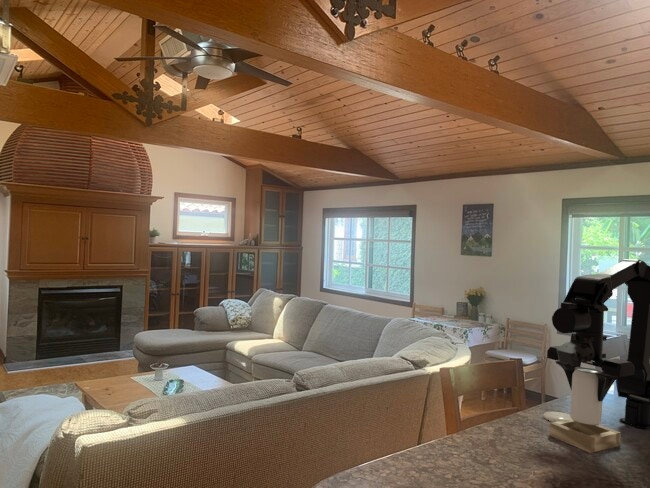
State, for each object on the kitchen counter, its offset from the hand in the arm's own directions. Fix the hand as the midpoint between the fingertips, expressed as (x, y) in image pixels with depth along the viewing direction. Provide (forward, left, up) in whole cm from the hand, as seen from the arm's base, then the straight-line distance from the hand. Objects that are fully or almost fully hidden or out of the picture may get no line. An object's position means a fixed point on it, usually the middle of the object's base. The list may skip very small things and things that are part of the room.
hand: (586, 396), depth 116 cm
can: (0, 0, -6) cm, 6 cm away
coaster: (-7, -12, -10) cm, 17 cm away
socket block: (0, 0, -10) cm, 10 cm away
